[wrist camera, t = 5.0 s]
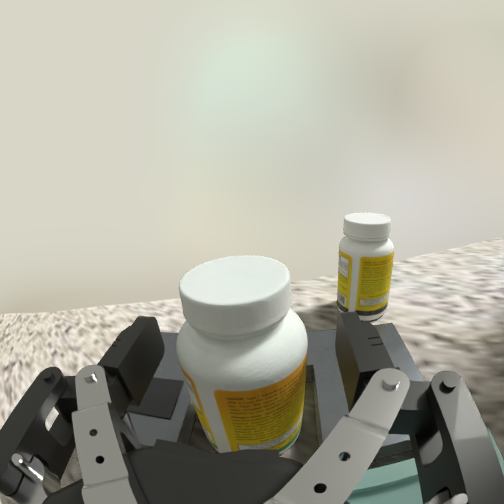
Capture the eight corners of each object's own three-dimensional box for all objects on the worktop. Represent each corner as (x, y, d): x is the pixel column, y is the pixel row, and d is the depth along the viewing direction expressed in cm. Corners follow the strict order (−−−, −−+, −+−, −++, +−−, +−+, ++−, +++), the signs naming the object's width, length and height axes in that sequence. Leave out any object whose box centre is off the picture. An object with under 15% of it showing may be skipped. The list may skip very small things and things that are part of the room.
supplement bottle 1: (188, 438, 12) (128, 292, 9) (239, 383, 16) (217, 243, 13) (274, 480, 10) (262, 336, 6) (316, 408, 14) (327, 256, 10)
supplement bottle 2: (392, 303, 23) (402, 216, 20) (374, 328, 20) (386, 228, 17) (350, 290, 26) (353, 209, 24) (326, 312, 23) (328, 219, 21)
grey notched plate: (388, 339, 18) (392, 321, 18) (434, 442, 9) (446, 426, 9) (161, 347, 20) (156, 331, 20) (112, 446, 11) (99, 431, 10)
